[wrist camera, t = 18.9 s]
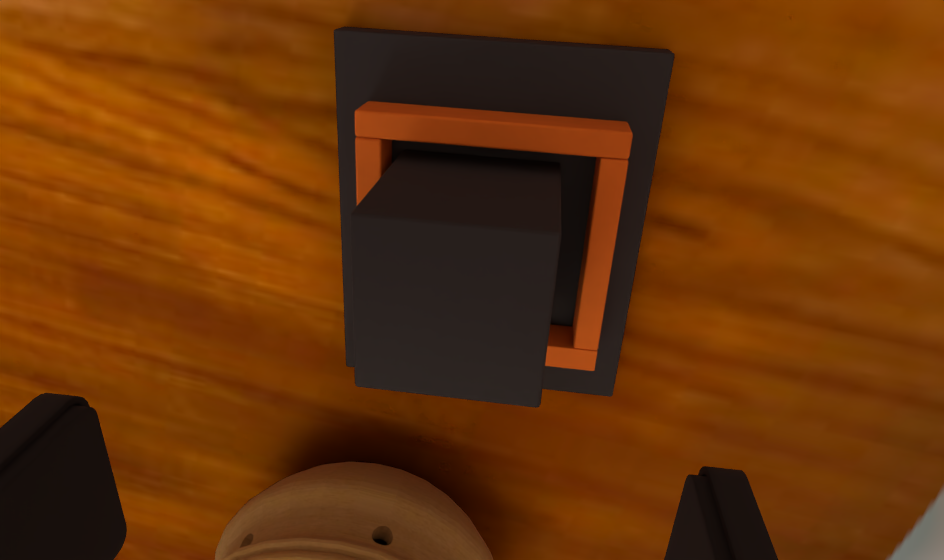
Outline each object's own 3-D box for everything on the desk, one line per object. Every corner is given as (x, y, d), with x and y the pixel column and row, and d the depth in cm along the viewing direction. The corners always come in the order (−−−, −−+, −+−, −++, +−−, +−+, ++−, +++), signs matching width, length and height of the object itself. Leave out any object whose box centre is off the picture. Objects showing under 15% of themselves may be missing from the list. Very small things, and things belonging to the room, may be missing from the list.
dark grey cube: (402, 148, 21) (348, 212, 15) (560, 162, 20) (561, 233, 15) (402, 288, 23) (353, 387, 18) (544, 303, 23) (539, 409, 17)
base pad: (342, 26, 20) (316, 33, 18) (669, 49, 19) (684, 60, 17) (352, 352, 26) (333, 390, 23) (610, 381, 25) (615, 423, 23)
